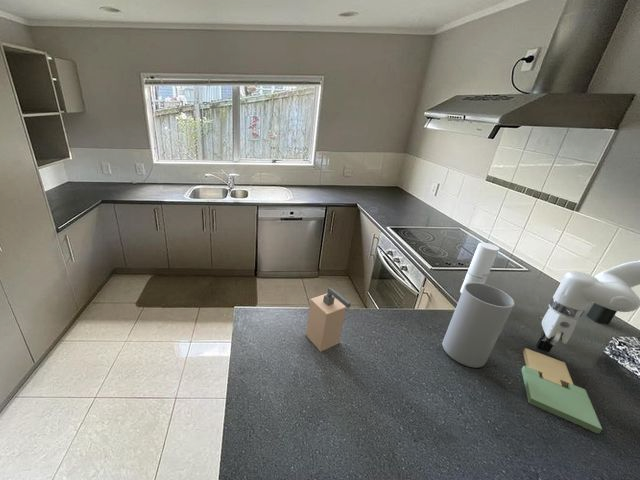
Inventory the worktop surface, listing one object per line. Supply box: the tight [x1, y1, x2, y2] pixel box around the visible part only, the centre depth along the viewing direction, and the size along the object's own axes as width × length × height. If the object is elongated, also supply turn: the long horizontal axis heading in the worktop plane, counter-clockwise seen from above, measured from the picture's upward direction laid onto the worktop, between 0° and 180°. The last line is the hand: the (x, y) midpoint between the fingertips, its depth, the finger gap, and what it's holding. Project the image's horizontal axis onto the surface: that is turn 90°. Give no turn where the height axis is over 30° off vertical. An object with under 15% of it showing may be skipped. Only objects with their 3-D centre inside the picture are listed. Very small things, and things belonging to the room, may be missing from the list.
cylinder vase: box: [442, 283, 516, 368], centre depth 92 cm, size 12×12×25 cm
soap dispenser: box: [305, 287, 352, 353], centre depth 94 cm, size 13×9×22 cm
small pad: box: [522, 347, 574, 388], centre depth 90 cm, size 10×13×2 cm
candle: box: [586, 303, 618, 325], centre depth 111 cm, size 5×5×25 cm
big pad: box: [521, 365, 603, 435], centre depth 82 cm, size 14×14×2 cm
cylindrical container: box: [459, 241, 500, 295], centre depth 124 cm, size 7×7×25 cm
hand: (542, 348), depth 99 cm, fingers closed
